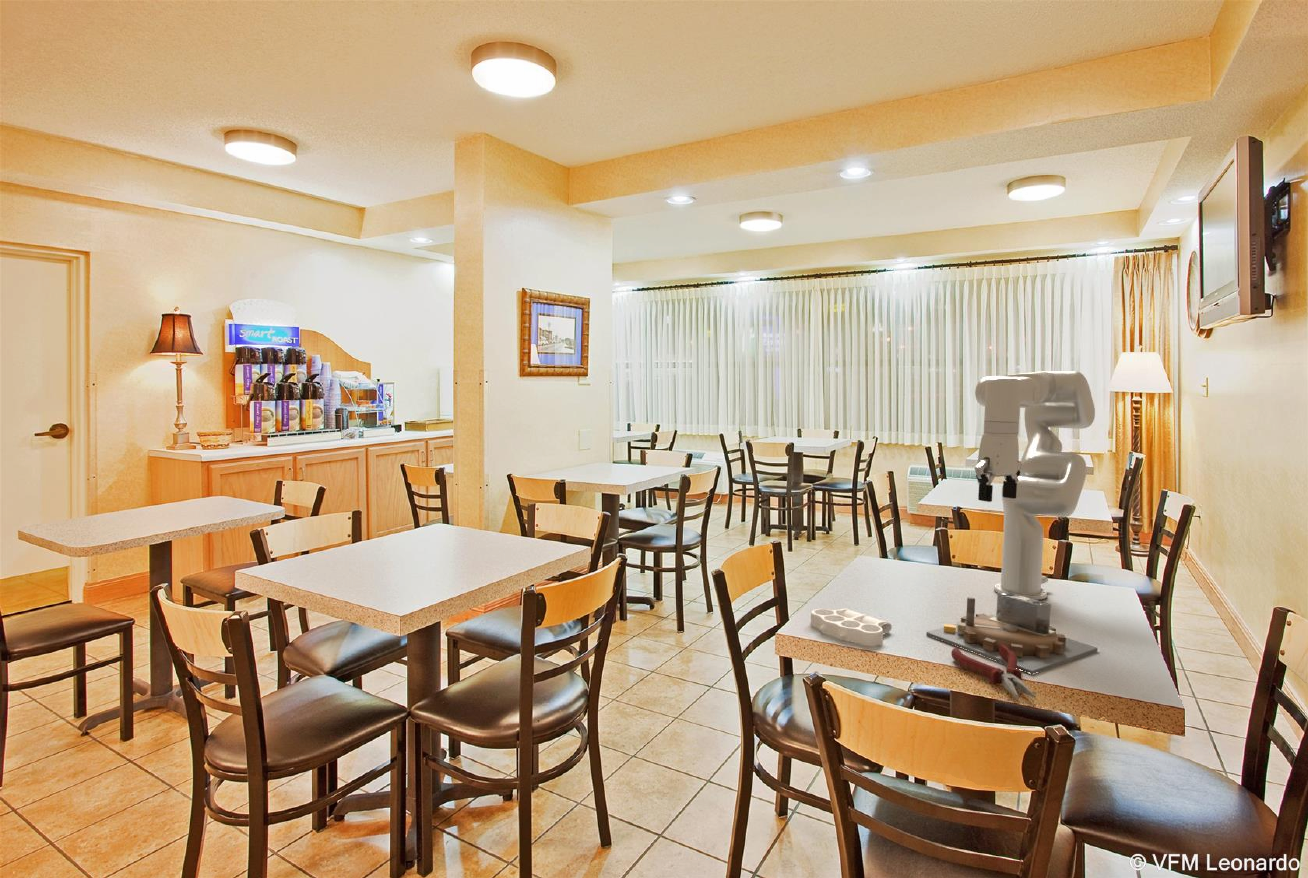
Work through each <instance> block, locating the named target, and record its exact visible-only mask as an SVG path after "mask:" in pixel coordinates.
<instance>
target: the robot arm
mask: <svg viewBox="0 0 1308 878" xmlns="http://www.w3.org/2000/svg"><path fill="white" fill-rule="evenodd" d="M974 394H975V399H976V401H977V403H978V404H979V405H980V406H982V407H984V415H983V416H984V417H983V421H984V422H983V434H982V435H981V439H980V443H979V448H978V455H977V465H975V466H974V472H975V477H976V479H977V484H978V495H977V496H978V498H977V499H978V501H981V502H986V503H991V502H993V488H994V486H993V484H992V482H993V481H994V479H995V477H996V478H998V477H999V478H1000V477H1003V479H1004V480H1003V483H1002V486H1001V499H1002V500H1001V501H1002V509H1003V535H1002V536H1003V538H1002V557H1001V573H1000V575H1001V576H1000V582H999V583H998V582H997V583H996V584H994V586H993V590H994V591H995V592H996V593H997V594H998V592H1009V593H1013V594H1017V595H1020V596H1024V597H1028V598H1031V599H1035V600H1038V601H1041V600H1044V599H1046V598H1047V597H1048V592H1047V591H1046V590H1045V589H1043V588H1041V587H1042V585H1043V584H1046V583H1048V582H1049V578H1048V576H1045V575H1042V569H1043V554H1044V553H1043V552H1044V551H1043V550H1044V539H1045V537H1044V536H1045V532H1044V531H1045V530H1044V528H1043V525H1042V524H1041V522H1040V521H1039V519H1038V518H1037V516H1036V515H1041V516H1042V515H1043V516H1047V517H1048V516H1049V517H1059V518H1067V517H1070V516H1071V515H1073V514H1074V512H1075V511H1076V508H1077V506H1078V502H1079V500H1080V497H1081V494H1082V490H1083V488H1084V484H1085V481H1086V477H1087V463H1086V460H1085V458H1084V457H1083V456H1082V455H1080V454H1078V453H1076V452H1074V453H1073V452H1065V451H1064V452H1063V451H1062V450H1063V443H1062V442H1061V440H1060V438H1058V436H1057V435H1056V433H1054V432H1053V431H1052V430H1051V429H1049V428H1057V429H1073V430H1074V429H1076V430H1078V429H1080V430H1081V429H1087V428H1089V427H1090V426H1092V425H1093V423H1094V421H1095V417H1096V408H1095V404H1094V400H1093V396H1092V392H1091V389H1090V384H1089V382H1088V380H1087V378H1086V377H1085V375H1084V374H1083V373H1082V372H1080V371H1074V370H1071V371H1069V370H1067V371H1065V370H1063V371H1062V370H1061V371H1060V370H1058V371H1057V370H1054V371H1053V370H1052V371H1051V370H1043V371H1042V370H1041V371H1035V372H1025V373H1023V372H1022V373H1015V374H1006V375H1005V374H1003V375H990V376H984V377H982V378H981V379H980V380H978V382H977V384H976V385H975V392H974ZM1021 409H1024V426H1025V427H1024V428H1025V432H1026V437H1027V444H1026V447H1025V450H1024V452H1023V454H1022V457H1021V459H1020V455H1019V454H1020V453H1019V451H1020V449H1019V447H1020V446H1019V445H1020V444H1019V430H1020V413H1021V412H1020V411H1021ZM1019 459H1020V460H1019Z"/></svg>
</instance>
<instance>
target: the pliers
mask: <svg viewBox="0 0 1308 878" xmlns="http://www.w3.org/2000/svg"><path fill="white" fill-rule="evenodd" d="M950 653H951V655H950V656H951V657H952V659H953V660H954V662H955V663H956V664H957V665H958V666H959V665H960V666H959V667H961V668H962V667H963V668H962V669H964V670H967V671H969V672H972V673H973V674H976V675H979V676H981V677H982V678H983V677H984V678H986V679H989V683H990V685H993V686H996V685H1003V687H1004V688H1005V690H1007V691H1008V692H1009V693H1010V694H1011V695H1013V696H1014V697H1015V698H1016V699H1017V700H1020V695H1019V694H1018V692H1021V693H1022V694H1025V695H1027V696H1030V697H1032V698H1034V699H1036V698H1037V697H1036V695H1035V694H1034V693H1033V692H1032V690H1031V689H1030V687H1028V686H1027V685H1026V684H1025V682H1024V681H1023V680H1022V678H1023V677H1022V673H1023V672H1022V671H1020V670H1019V669H1016V667H1017V658H1016V655H1015V654H1014V653H1013V652H1012V651H1011V650H1010V649H1008V648H1007V647H1006V646H1004V645H1000V646H999V654H1000V656H1001V657H1002V658H1003V659H1004V660H1006V661H1007V662H1008V665H1007V666H1006V672H1005V671H1004V670H1003V669H1002V668H998V667H994V666H992V665H989V664H987V663H984V662H982V661H979V660H977V659H974V658H972V657H969V656H968V655H966V654H963V652H962V651H961V650H960V648H958V647H954V648H953V649H952V650H951V652H950ZM1015 687H1016V688H1015ZM1017 691H1018V692H1017Z"/></svg>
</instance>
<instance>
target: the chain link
mask: <svg viewBox="0 0 1308 878" xmlns="http://www.w3.org/2000/svg"><path fill="white" fill-rule="evenodd" d="M996 596H997V597H996V598H997V599H996V614H995V616H996V619H997V620H998V621H1001V622H1004V623H1007V624H1010V625H1014V626H1017V627H1020V628H1023V629H1026V630H1029V631H1033V632H1036V633H1040V634H1048V633H1049V627H1050V623H1051V609H1052V608H1051V607H1052V605H1051V603H1048V602H1045V601H1041V600H1035V599H1031V598H1028V597H1024V596H1020V595H1017V594H1013V593H1009V592H998V593H997V595H996Z"/></svg>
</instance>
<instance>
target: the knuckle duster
mask: <svg viewBox="0 0 1308 878" xmlns="http://www.w3.org/2000/svg"><path fill="white" fill-rule="evenodd" d="M810 626H811V627H813V628H816V629H818V630H820V631H821V633H823V634H825V635H828V636H831V637H833V638H834V637H835V638H836V639H837V640H841V641H844V640H845V642H849V641H851V643H857V644H859V645H862V646H863V647H864V646H865V647H878V646H877V645H879V646H881V645H883V640H884V636H885V635H886V634H883V633H888V634H889V633H890V632H891V631H892V627H893V626H892V624H891V623H890V622H889V621H886V620H880V619H878V618H875V617H872V616H870V615H868V614H863V613H860V612H857V611H853V610H852V609H849V608H841V609H840V608H839V609H827V608H816V609H812V611H810ZM880 644H881V645H880Z"/></svg>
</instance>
